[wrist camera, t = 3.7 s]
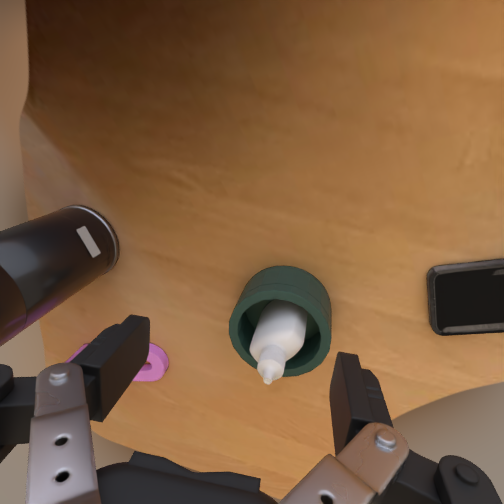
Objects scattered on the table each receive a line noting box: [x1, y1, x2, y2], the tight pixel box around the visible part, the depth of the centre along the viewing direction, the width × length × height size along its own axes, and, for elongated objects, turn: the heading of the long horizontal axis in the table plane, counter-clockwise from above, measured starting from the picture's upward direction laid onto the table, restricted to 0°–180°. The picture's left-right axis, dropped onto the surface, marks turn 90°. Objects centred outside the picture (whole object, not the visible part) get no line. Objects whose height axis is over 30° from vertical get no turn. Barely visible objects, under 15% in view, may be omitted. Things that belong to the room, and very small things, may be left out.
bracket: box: [65, 343, 169, 381], centre depth 46 cm, size 13×6×7 cm, turn 100°
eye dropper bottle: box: [250, 299, 308, 384], centre depth 35 cm, size 4×6×12 cm
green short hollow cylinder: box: [229, 266, 331, 377], centre depth 38 cm, size 11×11×6 cm
